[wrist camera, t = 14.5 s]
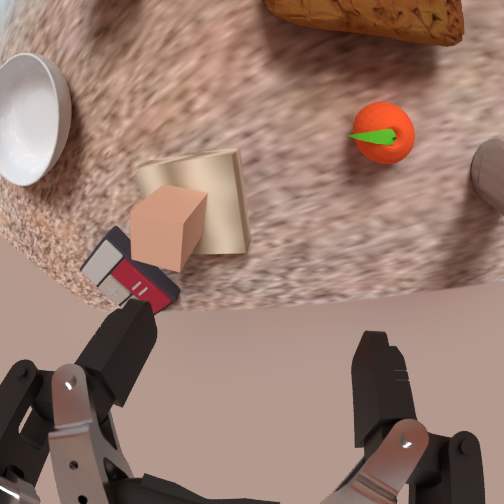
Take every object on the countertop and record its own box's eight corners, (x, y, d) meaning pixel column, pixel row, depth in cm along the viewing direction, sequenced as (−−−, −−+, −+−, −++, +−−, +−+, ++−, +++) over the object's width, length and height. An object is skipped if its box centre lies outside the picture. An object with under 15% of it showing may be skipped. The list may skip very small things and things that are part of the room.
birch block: (240, 147, 34) (231, 155, 30) (251, 234, 40) (245, 253, 36) (153, 159, 36) (135, 169, 32) (171, 238, 42) (158, 255, 38)
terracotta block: (207, 193, 32) (183, 223, 25) (202, 234, 35) (180, 272, 28) (163, 184, 32) (130, 211, 26) (160, 225, 35) (131, 259, 28)
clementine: (341, 158, 32) (352, 173, 26) (336, 101, 29) (346, 103, 23) (403, 156, 31) (425, 171, 25) (400, 101, 27) (424, 104, 21)
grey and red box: (140, 327, 48) (76, 272, 43) (148, 311, 52) (88, 258, 47) (175, 303, 44) (102, 237, 38) (183, 286, 47) (116, 223, 42)
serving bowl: (16, 173, 39) (-9, 187, 34) (10, 68, 28) (-18, 73, 23) (93, 172, 38) (64, 188, 32) (91, 37, 27) (59, 34, 21)
